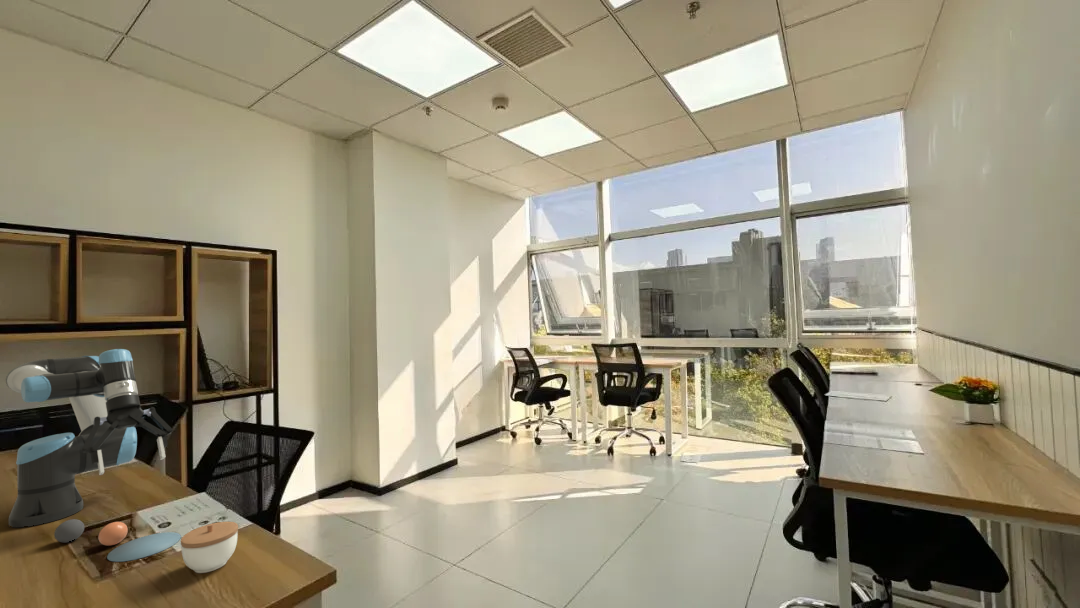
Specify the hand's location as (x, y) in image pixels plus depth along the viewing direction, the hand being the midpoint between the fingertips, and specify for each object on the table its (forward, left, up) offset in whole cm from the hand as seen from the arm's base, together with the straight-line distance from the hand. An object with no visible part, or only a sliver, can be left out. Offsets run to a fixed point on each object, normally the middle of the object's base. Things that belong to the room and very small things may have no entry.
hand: (133, 465), depth 133 cm
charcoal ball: (-1, -15, -12) cm, 19 cm away
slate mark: (+23, -12, -15) cm, 30 cm away
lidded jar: (+49, -15, -15) cm, 54 cm away
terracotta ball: (+14, -13, -12) cm, 22 cm away
